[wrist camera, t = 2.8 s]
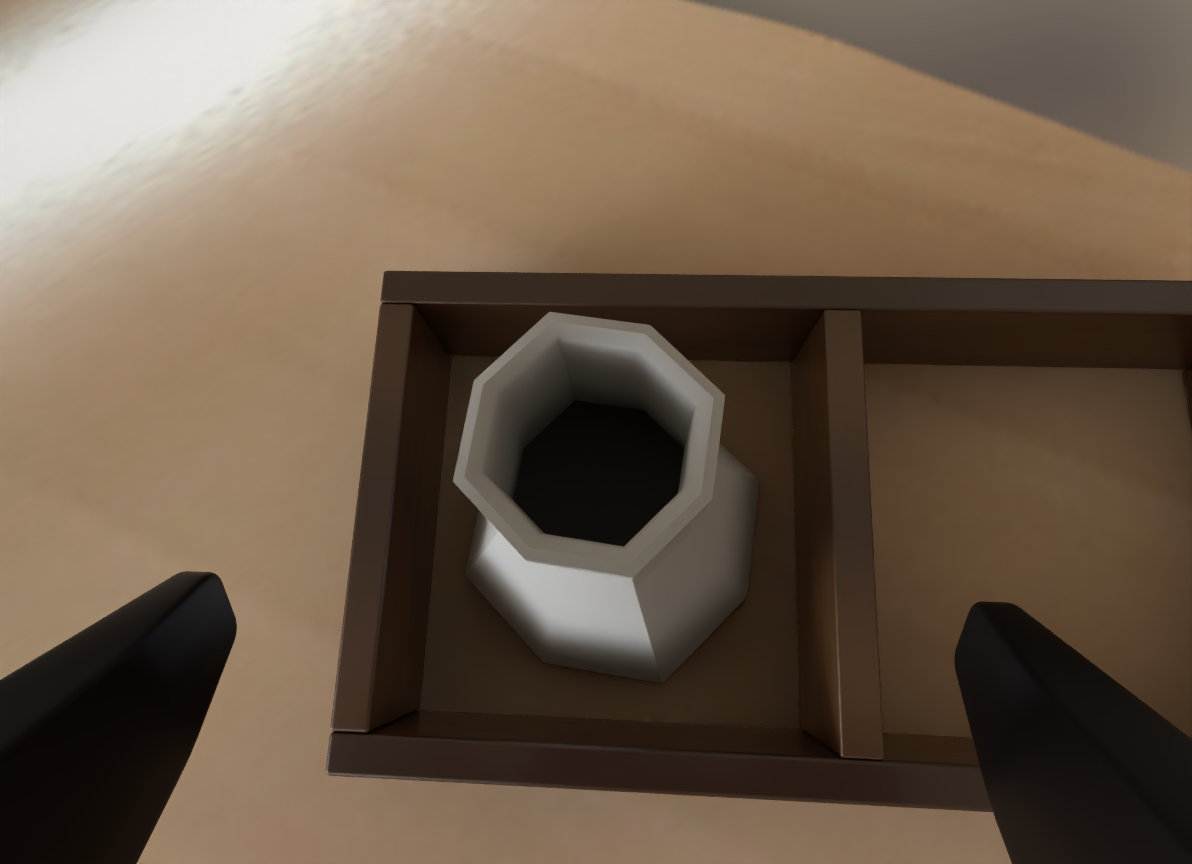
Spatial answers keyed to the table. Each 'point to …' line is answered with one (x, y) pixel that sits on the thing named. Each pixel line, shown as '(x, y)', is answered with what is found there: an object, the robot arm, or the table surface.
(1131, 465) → the table surface
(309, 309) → the table surface
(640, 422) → the flask
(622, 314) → the walnut divided tray
